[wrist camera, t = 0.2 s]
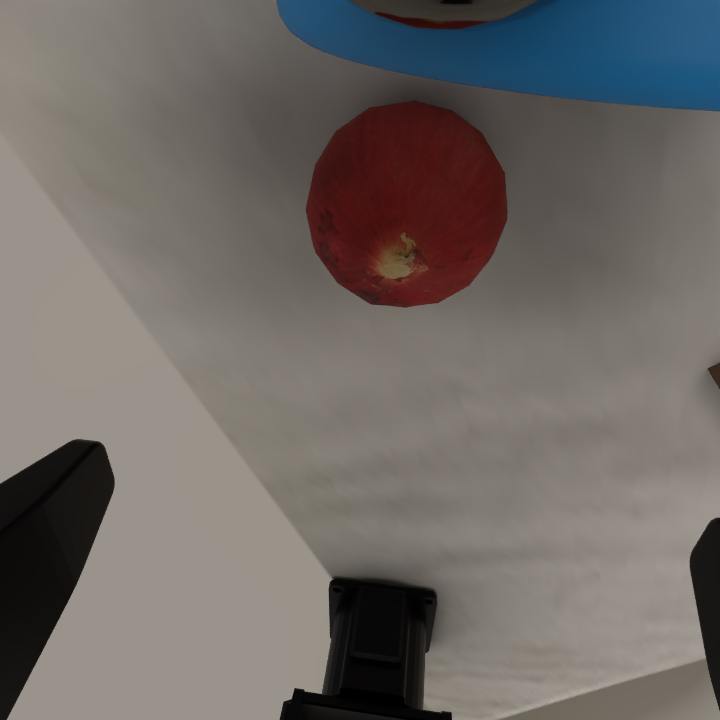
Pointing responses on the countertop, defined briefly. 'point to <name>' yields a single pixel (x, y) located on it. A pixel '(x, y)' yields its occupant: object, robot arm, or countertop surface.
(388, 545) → the countertop surface
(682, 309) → the countertop surface
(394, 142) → the onion
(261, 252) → the countertop surface
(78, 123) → the countertop surface
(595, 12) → the alarm clock
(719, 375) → the tile
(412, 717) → the robot arm
